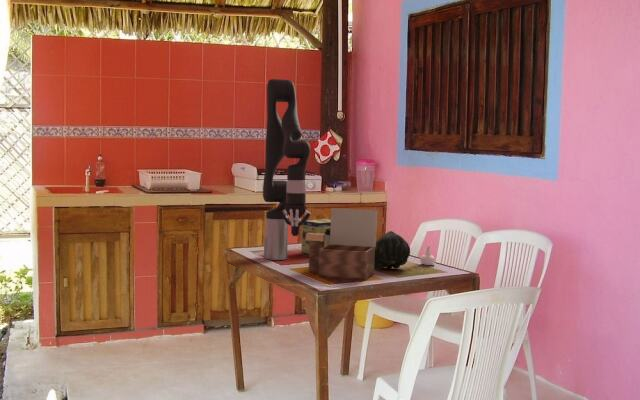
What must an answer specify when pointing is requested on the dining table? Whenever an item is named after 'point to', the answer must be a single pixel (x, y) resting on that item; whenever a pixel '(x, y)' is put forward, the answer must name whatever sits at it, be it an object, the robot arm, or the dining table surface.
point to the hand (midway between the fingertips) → (295, 235)
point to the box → (341, 261)
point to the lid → (353, 227)
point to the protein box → (313, 231)
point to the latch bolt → (315, 237)
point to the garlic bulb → (427, 257)
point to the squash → (391, 251)
